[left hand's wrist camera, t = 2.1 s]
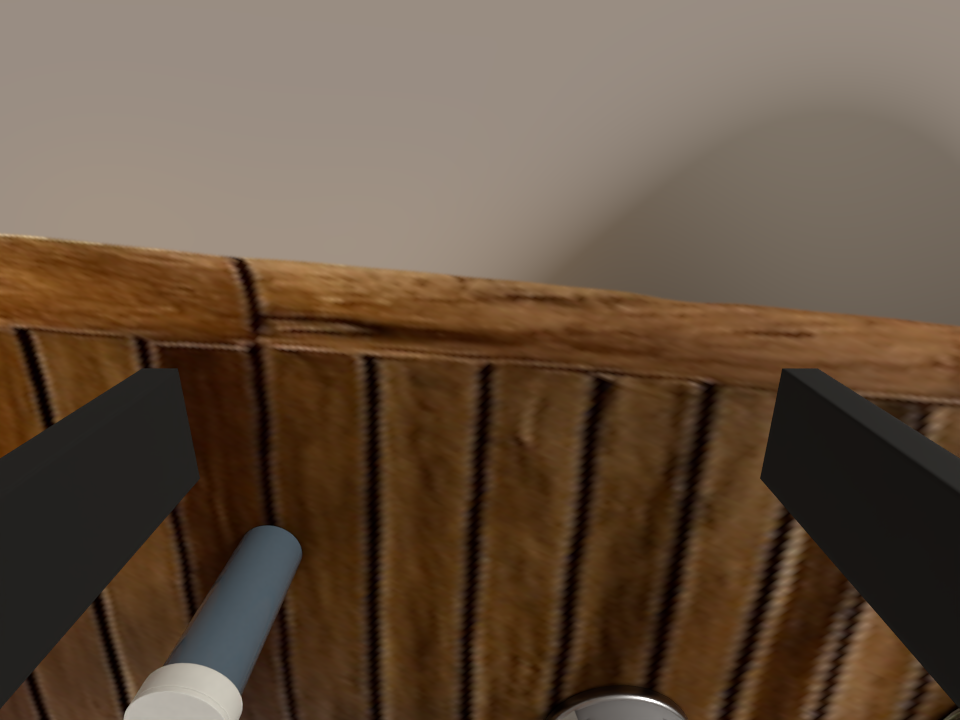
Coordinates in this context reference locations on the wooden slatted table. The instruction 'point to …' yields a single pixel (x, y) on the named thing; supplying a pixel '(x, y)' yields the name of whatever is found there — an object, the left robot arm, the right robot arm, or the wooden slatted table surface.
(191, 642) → the jar
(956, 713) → the fossil
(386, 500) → the wooden slatted table surface
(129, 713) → the lid
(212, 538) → the wooden slatted table surface
